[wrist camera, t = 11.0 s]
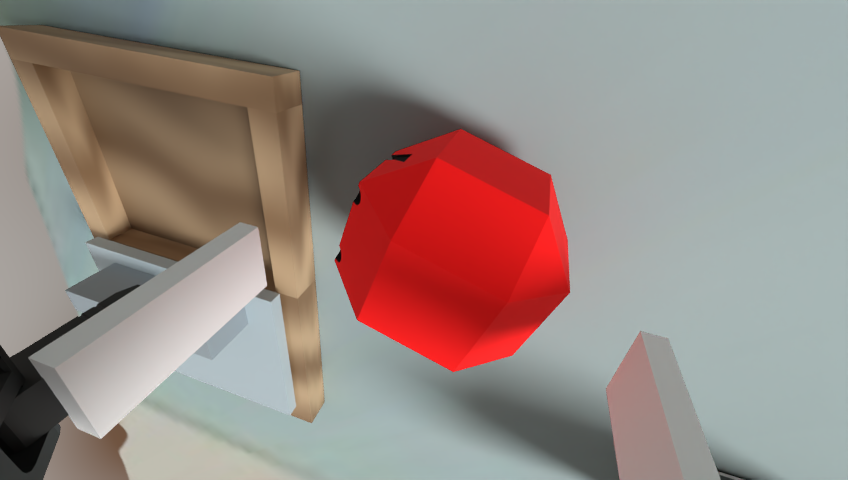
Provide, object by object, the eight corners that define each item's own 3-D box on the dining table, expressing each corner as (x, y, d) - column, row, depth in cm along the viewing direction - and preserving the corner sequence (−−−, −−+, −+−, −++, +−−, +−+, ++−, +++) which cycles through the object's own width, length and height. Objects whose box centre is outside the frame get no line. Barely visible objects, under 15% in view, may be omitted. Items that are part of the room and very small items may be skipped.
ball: (428, 94, 16) (345, 146, 10) (595, 180, 16) (620, 289, 9) (375, 232, 20) (296, 326, 14) (503, 299, 20) (479, 426, 14)
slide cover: (97, 236, 25) (31, 268, 22) (279, 293, 22) (233, 339, 19) (150, 351, 31) (105, 388, 28) (296, 406, 28) (264, 454, 25)
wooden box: (41, 25, 20) (-5, 25, 18) (299, 70, 17) (272, 76, 15) (170, 345, 34) (151, 361, 33) (324, 401, 31) (311, 423, 30)
